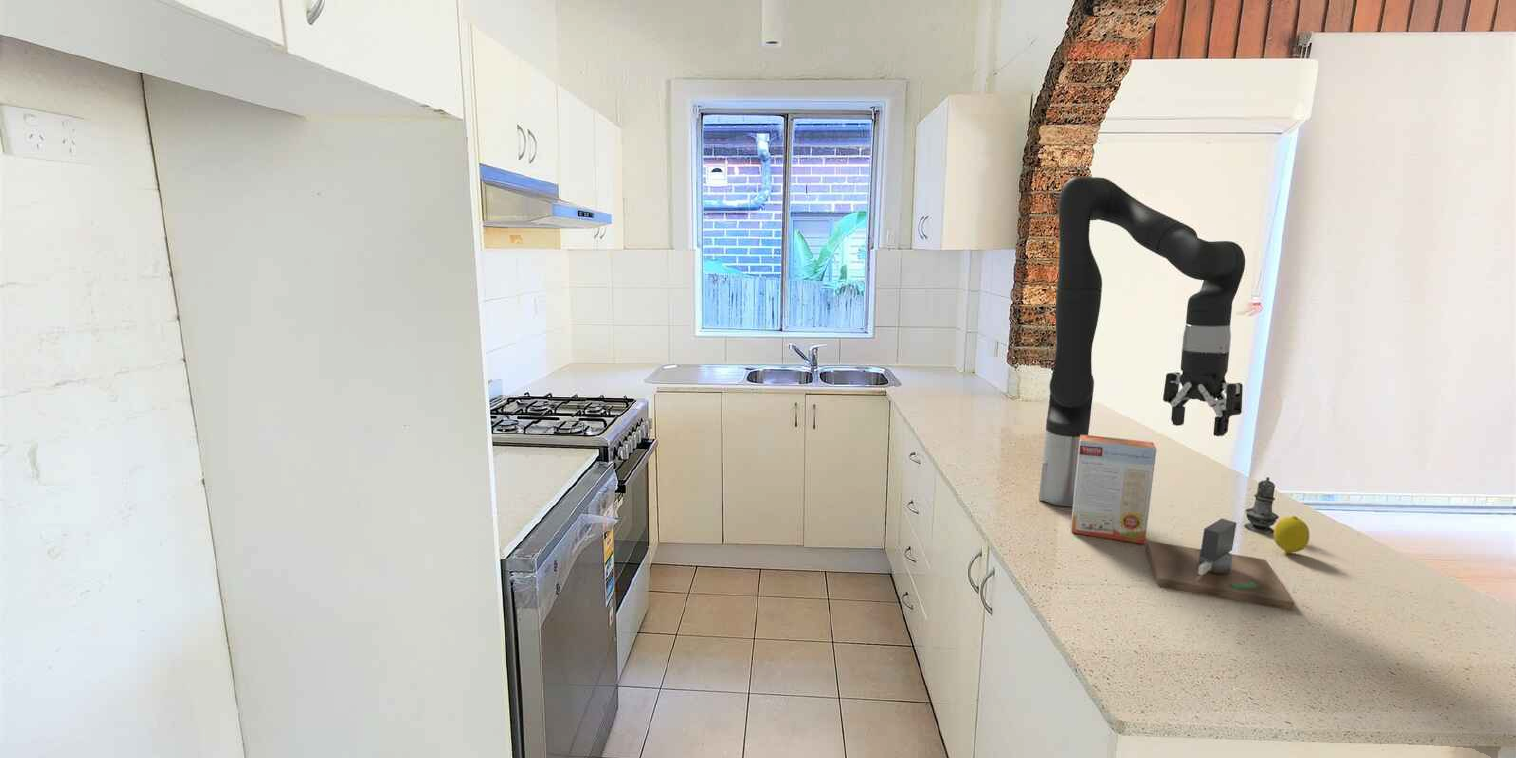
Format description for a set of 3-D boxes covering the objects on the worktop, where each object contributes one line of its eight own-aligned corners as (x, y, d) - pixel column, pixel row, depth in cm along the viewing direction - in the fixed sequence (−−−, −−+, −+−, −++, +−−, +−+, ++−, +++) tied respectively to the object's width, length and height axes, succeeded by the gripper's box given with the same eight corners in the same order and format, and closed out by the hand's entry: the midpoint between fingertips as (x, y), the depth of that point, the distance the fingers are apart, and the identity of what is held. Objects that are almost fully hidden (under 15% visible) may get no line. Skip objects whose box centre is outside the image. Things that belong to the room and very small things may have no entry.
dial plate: (1157, 585, 120) (1158, 576, 120) (1145, 547, 135) (1147, 538, 135) (1293, 610, 112) (1295, 600, 112) (1264, 566, 127) (1266, 557, 127)
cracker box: (1142, 534, 141) (1154, 440, 137) (1145, 545, 136) (1158, 448, 132) (1070, 522, 147) (1080, 432, 143) (1070, 533, 142) (1080, 439, 138)
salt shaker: (1281, 535, 141) (1291, 482, 139) (1251, 533, 142) (1259, 480, 140) (1267, 524, 147) (1275, 473, 145) (1237, 522, 148) (1245, 471, 146)
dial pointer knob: (1207, 556, 128) (1214, 516, 126) (1237, 566, 124) (1244, 525, 122) (1184, 571, 122) (1190, 529, 120) (1215, 582, 118) (1222, 539, 116)
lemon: (1298, 549, 135) (1305, 513, 133) (1310, 561, 130) (1317, 523, 128) (1266, 545, 137) (1272, 509, 135) (1277, 557, 131) (1283, 519, 130)
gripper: (1157, 345, 131) (1151, 424, 134) (1227, 354, 118) (1219, 441, 121) (1185, 342, 134) (1179, 420, 137) (1257, 351, 120) (1248, 436, 123)
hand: (1198, 430), depth 129 cm, fingers open, 8 cm apart
